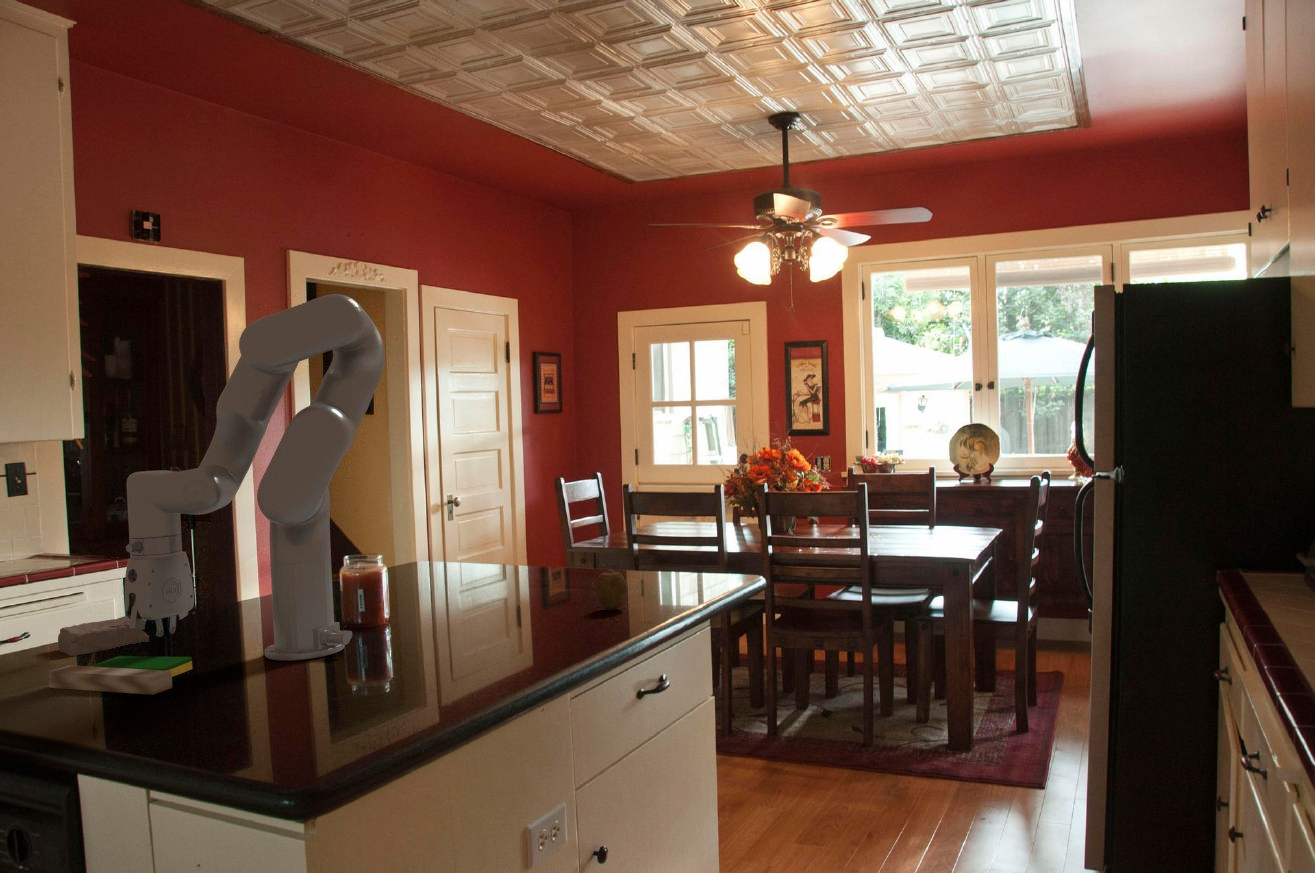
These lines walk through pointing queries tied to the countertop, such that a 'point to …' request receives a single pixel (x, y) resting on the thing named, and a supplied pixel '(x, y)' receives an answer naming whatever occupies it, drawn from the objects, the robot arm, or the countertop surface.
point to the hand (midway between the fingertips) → (161, 658)
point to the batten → (110, 679)
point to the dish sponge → (149, 663)
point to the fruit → (611, 590)
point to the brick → (99, 636)
